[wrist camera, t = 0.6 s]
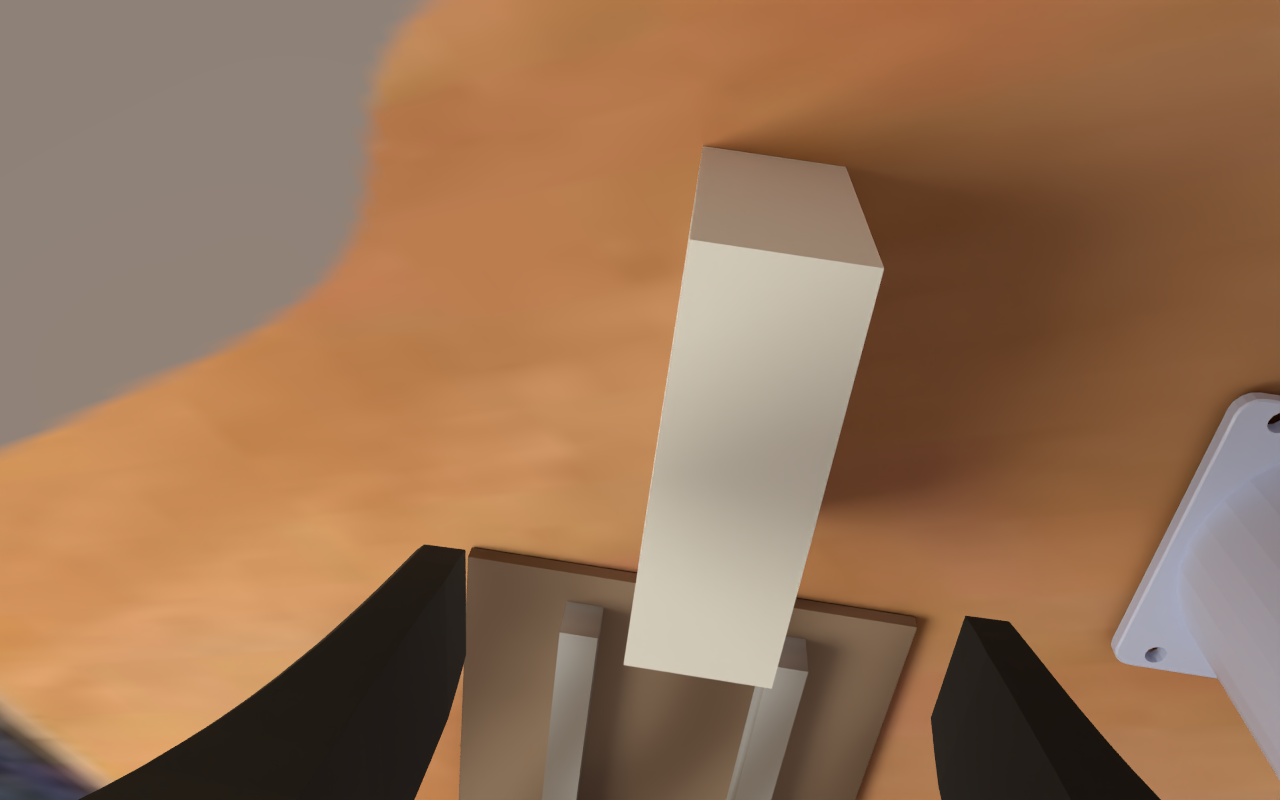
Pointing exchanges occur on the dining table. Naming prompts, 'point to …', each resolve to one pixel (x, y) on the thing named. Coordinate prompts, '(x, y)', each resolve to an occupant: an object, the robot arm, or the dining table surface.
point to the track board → (658, 697)
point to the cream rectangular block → (750, 411)
